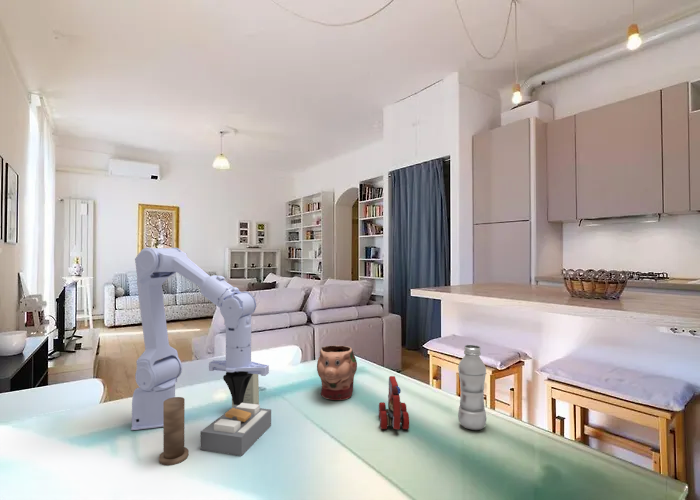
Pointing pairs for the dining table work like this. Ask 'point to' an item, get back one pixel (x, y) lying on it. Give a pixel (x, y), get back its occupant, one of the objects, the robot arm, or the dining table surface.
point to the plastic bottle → (472, 389)
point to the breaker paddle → (238, 415)
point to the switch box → (236, 431)
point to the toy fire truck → (393, 408)
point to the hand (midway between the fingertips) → (238, 403)
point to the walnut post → (173, 432)
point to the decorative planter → (336, 371)
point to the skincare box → (251, 391)
